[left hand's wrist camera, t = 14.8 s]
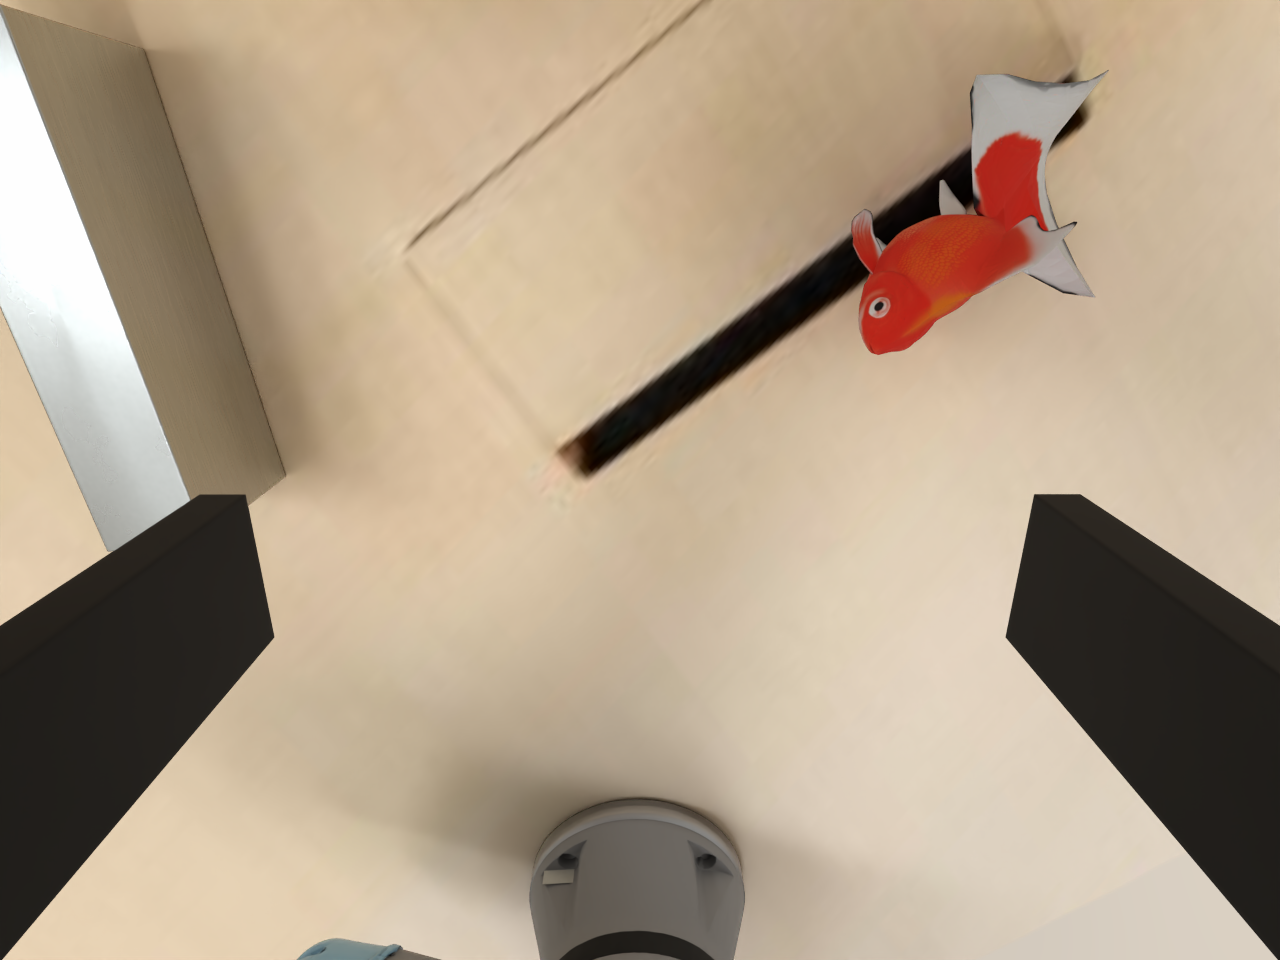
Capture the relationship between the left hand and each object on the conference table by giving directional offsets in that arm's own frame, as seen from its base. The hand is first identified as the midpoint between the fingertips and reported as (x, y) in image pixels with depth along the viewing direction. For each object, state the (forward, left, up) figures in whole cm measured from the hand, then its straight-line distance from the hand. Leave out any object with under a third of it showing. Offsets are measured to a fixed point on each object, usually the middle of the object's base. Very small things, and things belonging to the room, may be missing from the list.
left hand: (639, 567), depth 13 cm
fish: (+6, -16, -29) cm, 34 cm away
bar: (+2, +25, -29) cm, 38 cm away
